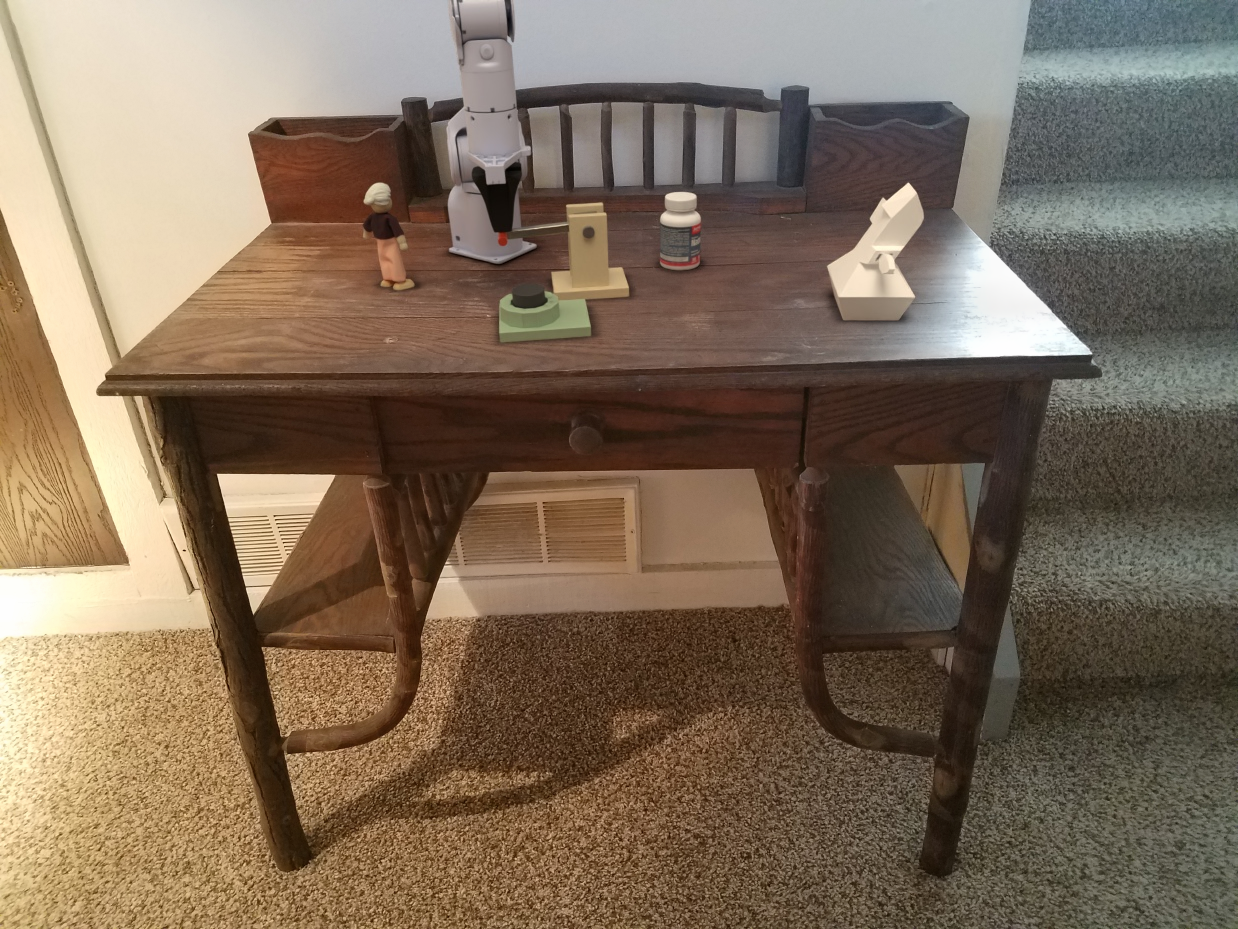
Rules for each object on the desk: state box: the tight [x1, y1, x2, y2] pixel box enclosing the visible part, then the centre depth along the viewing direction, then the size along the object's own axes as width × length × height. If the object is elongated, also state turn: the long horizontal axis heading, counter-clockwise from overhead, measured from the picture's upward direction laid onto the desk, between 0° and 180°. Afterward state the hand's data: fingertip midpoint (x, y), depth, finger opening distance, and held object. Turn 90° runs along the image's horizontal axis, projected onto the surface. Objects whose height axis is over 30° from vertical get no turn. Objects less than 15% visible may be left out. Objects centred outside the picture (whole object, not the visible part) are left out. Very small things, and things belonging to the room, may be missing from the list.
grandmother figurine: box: [362, 182, 416, 291], centre depth 107 cm, size 8×4×13 cm, turn 65°
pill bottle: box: [659, 191, 702, 272], centre depth 111 cm, size 5×5×9 cm
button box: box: [498, 291, 592, 343], centre depth 98 cm, size 10×8×3 cm
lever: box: [498, 211, 597, 246], centre depth 103 cm, size 12×5×2 cm, turn 96°
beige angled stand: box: [826, 182, 925, 321], centre depth 96 cm, size 8×14×14 cm, turn 176°
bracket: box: [550, 202, 630, 301], centre depth 105 cm, size 9×7×10 cm
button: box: [511, 283, 545, 309], centre depth 97 cm, size 4×4×2 cm
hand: (502, 230), depth 102 cm, fingers closed, pressing on lever
